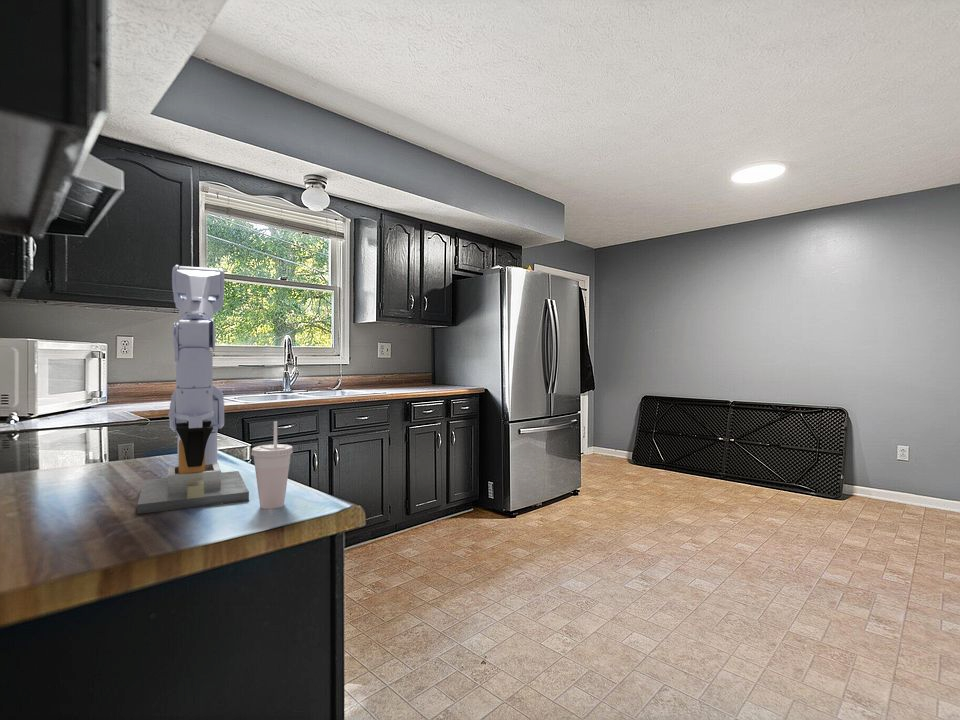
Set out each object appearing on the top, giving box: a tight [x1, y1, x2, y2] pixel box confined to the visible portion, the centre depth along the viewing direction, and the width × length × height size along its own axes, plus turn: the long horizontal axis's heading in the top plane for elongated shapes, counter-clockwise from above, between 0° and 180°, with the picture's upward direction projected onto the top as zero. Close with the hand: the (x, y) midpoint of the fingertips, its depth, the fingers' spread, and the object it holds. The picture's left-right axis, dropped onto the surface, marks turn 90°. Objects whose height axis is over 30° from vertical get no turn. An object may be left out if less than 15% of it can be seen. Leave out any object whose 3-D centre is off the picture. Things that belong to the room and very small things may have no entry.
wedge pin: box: [179, 440, 205, 474], centre depth 94 cm, size 4×4×8 cm
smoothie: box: [251, 420, 294, 510], centre depth 87 cm, size 6×6×14 cm
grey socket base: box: [136, 462, 250, 515], centre depth 94 cm, size 18×16×4 cm
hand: (194, 463), depth 94 cm, fingers open, 4 cm apart
